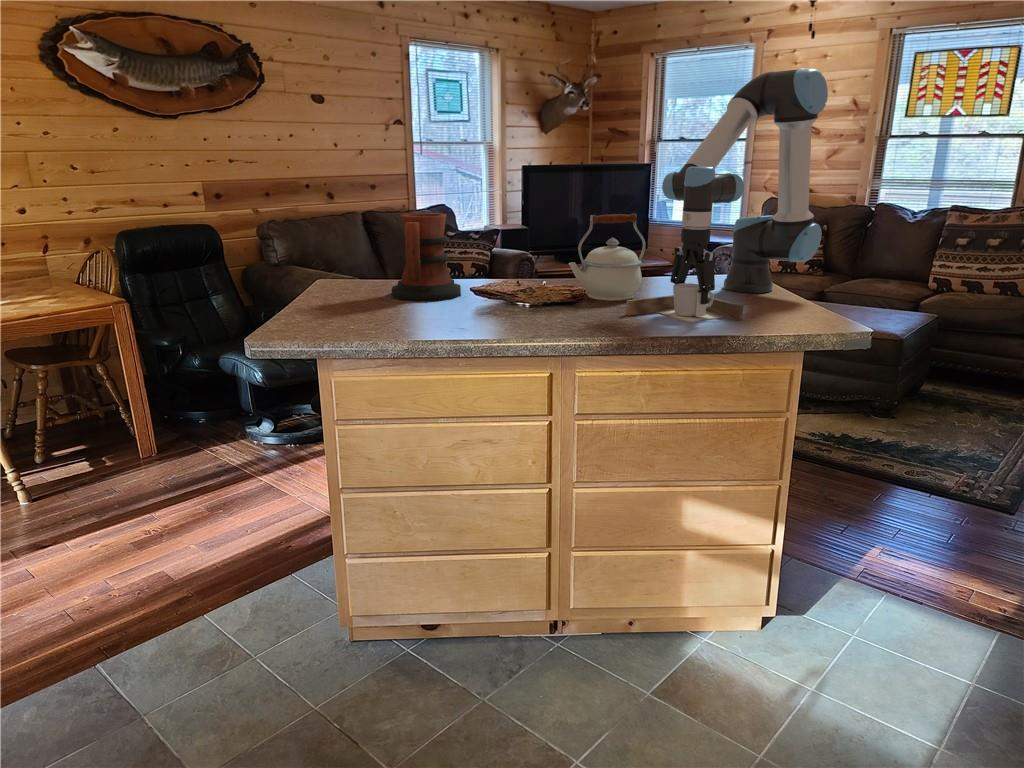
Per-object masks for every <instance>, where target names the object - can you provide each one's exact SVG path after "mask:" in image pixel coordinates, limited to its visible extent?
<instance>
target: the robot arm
mask: <svg viewBox="0 0 1024 768" xmlns="http://www.w3.org/2000/svg"><path fill="white" fill-rule="evenodd" d="M828 95H829V88H828V83H827V79H826V78H825V77H824V76H823V74H822V71H819V70H818V69H815V68H797V69H789V70H780V71H766V72H763V73H762V74H760V75H757V76H755V77H754V78H752V79H750V81H748V82H747V83H746V84H744V85H743V87H741V88H739V90H737V92H736V93H735V94H734V95H733V96H732V98H731V99H730V100H729V101H728V103H727V105H726V111H725V112H724V114H723V115H722V116H720V117H721V118H720V119H719V120H717V121H718V122H717V123H716V124H715V125H714V126H713V128H712V129H711V130H710V131H709V133H708V134H707V135H706V136H705V138H704V139H703V140H702V142H700V144H699V145H698V147H697V148H696V150H695V151H694V152H693V154H692V155H691V156H690V157H689V158H688V160H687V161H686V163H685V164H684V165H683V166H682V167H681V169H680V170H679V171H674V172H669V173H667V174H666V175H665V176H664V178H663V181H662V184H661V185H662V186H661V188H662V189H661V190H662V193H663V195H664V196H665V198H667V199H668V200H673V201H679V202H680V201H683V206H682V215H681V217H682V218H681V219H682V220H681V226H682V227H683V228H681V232H680V242H681V243H683V244H682V246H678V247H677V246H676V247H674V258H673V263H672V264H673V265H672V269H671V273H670V274H671V276H670V283H672V284H673V285H675V284H682V283H686V280H687V278H688V275H689V273H690V270H691V268H692V266H693V268H695V272H696V273H695V275H696V278H697V284H699V289H700V290H699V291H698V292H697V303H696V316H697V317H698V316H705V314H706V304H707V302H708V297H709V294H708V293H709V291H711V292H712V291H715V289H716V287H715V286H716V283H715V280H716V279H715V260H716V253H715V251H712V252H711V251H708V244H709V243H710V242H711V233H712V232H711V229H710V227H711V226H712V221H713V220H712V218H713V217H712V216H713V207H714V206H713V205H714V204H726V203H727V204H730V203H732V202H736V201H738V200H739V199H740V198H741V197H742V196H743V193H744V190H745V183H744V181H743V179H742V177H741V176H740V175H739V174H736V173H731V172H729V173H728V172H726V173H716V168H717V166H719V164H720V162H722V160H723V159H724V157H725V156H726V155H727V153H728V152H729V151H730V150H731V148H732V147H733V146H734V144H736V142H737V140H738V139H739V138H740V137H741V136H742V134H743V133H744V131H746V129H747V128H748V127H749V126H752V125H754V124H755V123H756V122H757V120H758V119H760V118H762V117H764V116H773V124H775V125H776V126H777V127H778V129H779V136H778V138H779V139H778V141H779V142H778V177H777V178H778V184H777V186H778V187H777V190H778V191H777V212H776V213H775V214H774V215H761V216H760V215H759V216H757V215H756V216H748V217H739V218H737V219H736V220H735V222H734V228H733V239H732V251H731V262H730V263H731V264H730V267H729V269H728V272H727V274H726V278H724V281H723V289H724V290H727V291H730V292H736V293H737V292H738V293H750V294H751V293H752V294H756V293H757V294H759V293H768V292H772V291H773V287H774V286H773V285H774V282H773V280H772V274H771V269H770V261H771V260H777V261H785V262H790V263H805V262H807V261H810V260H811V259H812V257H814V255H816V253H817V251H818V249H819V248H820V247H819V246H821V245H820V243H821V241H822V235H823V234H822V233H823V232H822V228H821V226H820V224H818V223H816V222H814V216H815V215H814V214H813V213H812V212H811V211H810V210H809V208H810V207H809V205H810V204H809V203H810V180H811V177H810V176H811V156H812V154H811V151H812V150H811V149H812V126H813V125H814V124H815V122H816V121H817V120H818V118H819V117H818V115H819V113H821V112H823V111H824V109H825V108H826V103H827V101H828V98H829V96H828Z"/></svg>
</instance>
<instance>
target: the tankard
mask: <svg viewBox="0 0 1024 768" xmlns="http://www.w3.org/2000/svg"><path fill="white" fill-rule="evenodd" d="M399 218H400V221H401V224H402V225H401V226H402V229H403V234H404V235H403V236H401V242H402V245H404V246H405V253H403V255H402V262H403V263H404V267H403V271H402V275H401V279H400V280H398V281H397V284H396V285H393V286H392V287H391V299H395V300H398V301H404V302H413V303H432V302H433V303H434V302H443V301H450V300H453V299H454V300H455V299H457V298H460V297H461V296H462V293H461V292H462V289H461V284H458V283H455V279H453V278H452V277H451V274H450V272H449V267H448V265H447V263H446V262H449V257H448V253H446V252H444V245H447V244H448V243H447V242H448V241H447V240H448V237H447V235H445V229H446V222H447V213H437V212H436V213H434V212H432V213H431V212H419V213H418V212H417V213H404V214H403V213H402V214H400V217H399Z"/></svg>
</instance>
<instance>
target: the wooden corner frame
mask: <svg viewBox="0 0 1024 768" xmlns="http://www.w3.org/2000/svg"><path fill="white" fill-rule="evenodd" d="M710 300H711V297H710V296H708V302H707V304H708V303H709V302H710ZM744 307H745V306H744V305H742V304H739V303H735V302H730V301H727V300H723V299H719V298H715V297H714V300H713V303H712V305H711V306H710V307H707V308H706V314H705V316H698V317H697V316H680V315H677V314H676V313H675V310H674V294H672V295H663V296H654V297H645V298H644V297H643V298H638V299H637V298H635V299H628V300H626V306H625V309H626V310H625V315H626V316H635V315H636V316H637V315H644V314H652V313H656V314H660V315H663V316H666V317H668V318H669V317H670V318H673V319H675V320H678V321H682V322H685V323H693V322H700V321H701V322H702V321H708V320H710V321H711V320H716V319H725V318H727V319H731V320H734V321H738V322H740V321H742V322H743V315H744Z"/></svg>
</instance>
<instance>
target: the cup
mask: <svg viewBox="0 0 1024 768" xmlns="http://www.w3.org/2000/svg"><path fill="white" fill-rule="evenodd" d="M699 290H700V289H699V284H698V283H691V282H690V283H689V282H688V283H687V282H685V283H682V284H673V285H672V291H673V292H672V293H673V294H672V295H674V310H675V313H676V314H677V315H680V316H696V303H697V292H698V291H699ZM708 296H709V297H711V300H710V302H709V303H708V304H706V308H707V307H710V306H711V305H712V303H713V300H714V298H715V296H714V293H713V292H712V291H709V293H708Z"/></svg>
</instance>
